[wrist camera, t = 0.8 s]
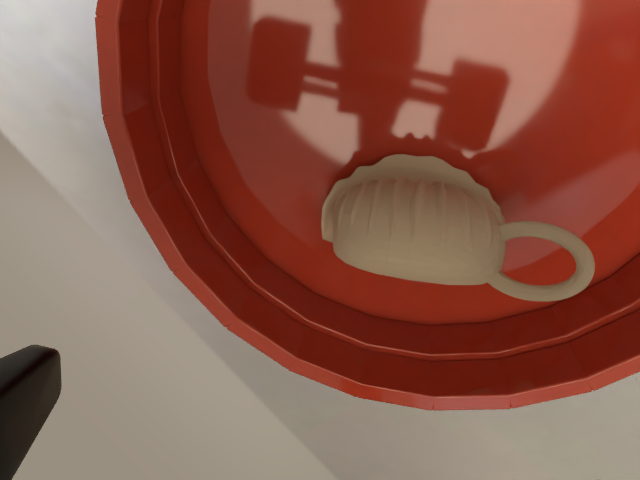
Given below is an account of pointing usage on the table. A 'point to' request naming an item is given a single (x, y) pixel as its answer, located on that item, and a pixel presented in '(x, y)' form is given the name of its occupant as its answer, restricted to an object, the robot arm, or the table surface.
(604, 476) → the table surface
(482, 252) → the decorative ornament
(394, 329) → the bowl
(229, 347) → the table surface
